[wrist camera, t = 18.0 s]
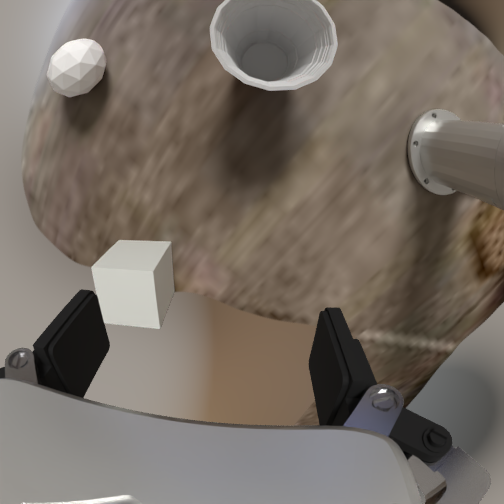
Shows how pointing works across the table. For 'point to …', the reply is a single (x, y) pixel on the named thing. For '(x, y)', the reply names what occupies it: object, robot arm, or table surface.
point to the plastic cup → (274, 41)
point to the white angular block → (135, 283)
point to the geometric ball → (76, 67)
